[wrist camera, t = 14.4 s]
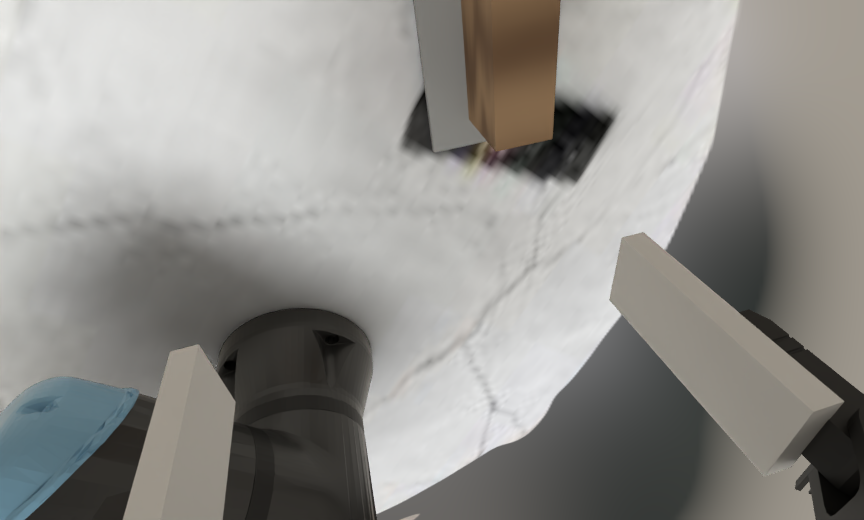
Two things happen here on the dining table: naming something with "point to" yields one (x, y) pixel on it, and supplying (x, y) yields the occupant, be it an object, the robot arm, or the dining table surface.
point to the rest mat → (444, 73)
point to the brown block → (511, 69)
